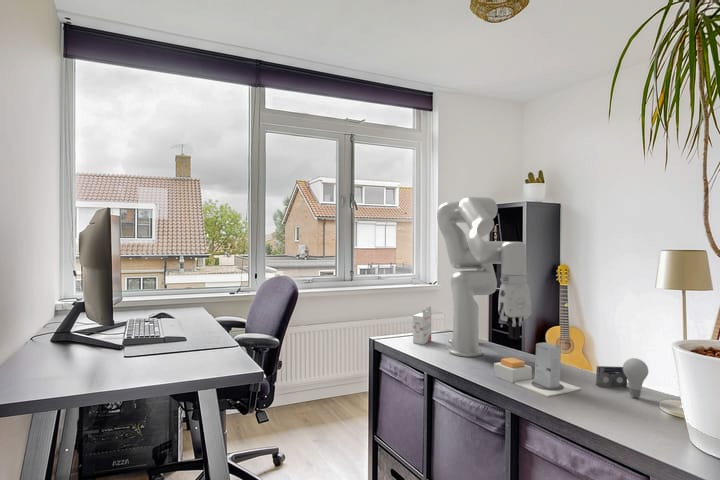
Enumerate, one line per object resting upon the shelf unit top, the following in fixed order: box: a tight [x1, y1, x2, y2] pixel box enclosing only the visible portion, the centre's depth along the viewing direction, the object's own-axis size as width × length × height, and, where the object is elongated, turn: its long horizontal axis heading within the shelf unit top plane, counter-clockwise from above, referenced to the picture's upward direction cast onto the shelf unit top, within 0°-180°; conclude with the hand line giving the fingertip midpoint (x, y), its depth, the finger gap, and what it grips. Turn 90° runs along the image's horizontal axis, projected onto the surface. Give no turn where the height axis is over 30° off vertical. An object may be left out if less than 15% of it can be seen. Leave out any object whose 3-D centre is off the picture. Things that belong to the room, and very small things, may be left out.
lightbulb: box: [622, 357, 649, 399], centre depth 125 cm, size 6×6×11 cm
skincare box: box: [534, 341, 562, 388], centre depth 134 cm, size 6×4×12 cm
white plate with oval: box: [514, 378, 582, 398], centre depth 134 cm, size 12×14×1 cm
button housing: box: [493, 361, 533, 384], centre depth 143 cm, size 8×8×4 cm
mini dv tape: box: [595, 365, 628, 389], centre depth 135 cm, size 8×2×6 cm, turn 86°
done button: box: [500, 356, 525, 368], centre depth 142 cm, size 5×5×3 cm
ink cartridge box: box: [412, 306, 432, 345], centre depth 189 cm, size 9×5×15 cm, turn 147°
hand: (514, 338), depth 142 cm, fingers closed
